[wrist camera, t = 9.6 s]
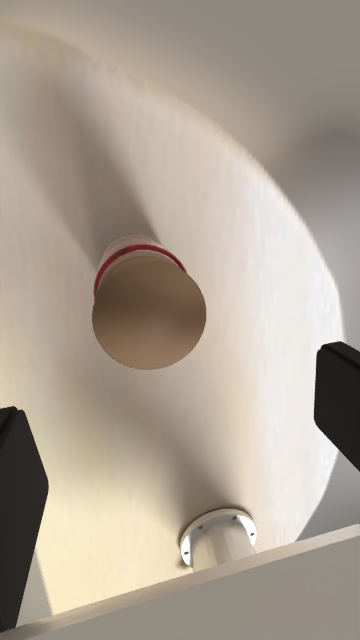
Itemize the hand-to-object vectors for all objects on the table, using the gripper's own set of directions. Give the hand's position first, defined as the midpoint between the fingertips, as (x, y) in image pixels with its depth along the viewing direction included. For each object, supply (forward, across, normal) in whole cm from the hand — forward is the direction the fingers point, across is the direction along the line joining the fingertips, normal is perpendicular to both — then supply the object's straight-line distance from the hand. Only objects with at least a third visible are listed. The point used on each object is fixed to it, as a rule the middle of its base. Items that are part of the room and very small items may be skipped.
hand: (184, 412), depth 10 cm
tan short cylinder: (+14, 0, 0) cm, 14 cm away
